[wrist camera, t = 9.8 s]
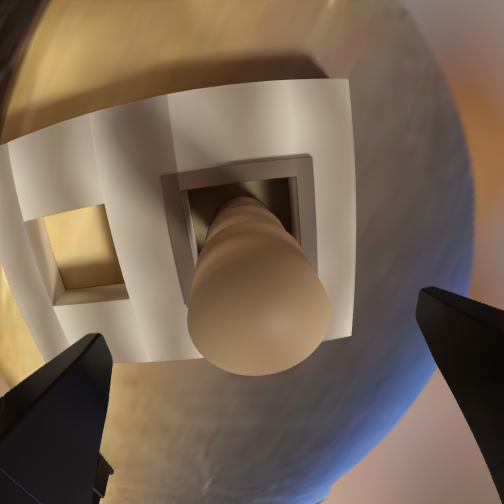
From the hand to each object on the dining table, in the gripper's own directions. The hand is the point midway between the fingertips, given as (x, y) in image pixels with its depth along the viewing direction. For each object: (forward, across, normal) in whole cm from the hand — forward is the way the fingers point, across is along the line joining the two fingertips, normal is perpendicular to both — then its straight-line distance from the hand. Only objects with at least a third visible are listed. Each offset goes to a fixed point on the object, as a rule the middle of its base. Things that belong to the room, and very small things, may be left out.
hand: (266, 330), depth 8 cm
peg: (+10, 0, 0) cm, 10 cm away
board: (+10, +5, 0) cm, 11 cm away
